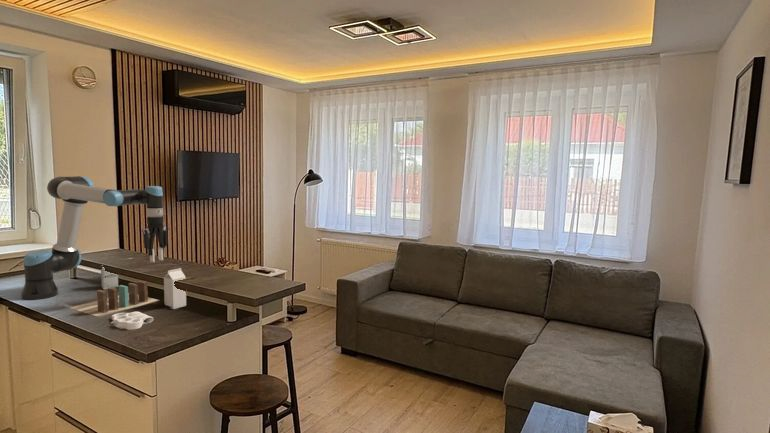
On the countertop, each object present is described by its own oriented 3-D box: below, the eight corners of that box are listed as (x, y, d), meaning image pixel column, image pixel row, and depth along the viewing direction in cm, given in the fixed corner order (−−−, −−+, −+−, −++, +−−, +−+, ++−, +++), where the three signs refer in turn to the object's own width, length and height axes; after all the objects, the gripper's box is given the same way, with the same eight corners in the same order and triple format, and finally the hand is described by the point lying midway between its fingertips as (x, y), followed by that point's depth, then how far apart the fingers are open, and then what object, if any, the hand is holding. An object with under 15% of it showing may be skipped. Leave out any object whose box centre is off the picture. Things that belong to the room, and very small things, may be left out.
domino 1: (104, 313, 204) (103, 292, 203) (97, 311, 207) (97, 290, 205) (107, 312, 206) (106, 291, 205) (101, 310, 208) (100, 289, 207)
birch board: (67, 309, 211) (67, 307, 211) (128, 294, 237) (128, 292, 237) (99, 319, 199) (99, 317, 199) (160, 302, 226) (159, 300, 225)
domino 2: (115, 310, 209) (114, 289, 208) (108, 308, 211) (107, 288, 210) (118, 309, 210) (117, 288, 209) (112, 307, 212) (111, 287, 211)
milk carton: (186, 305, 221) (185, 269, 219) (173, 309, 215) (172, 271, 213) (177, 303, 225) (176, 267, 223) (164, 307, 219) (163, 269, 217)
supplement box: (103, 290, 245) (102, 267, 244) (101, 287, 251) (100, 265, 249) (118, 288, 250) (117, 266, 248) (116, 285, 255) (115, 263, 254)
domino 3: (125, 307, 213) (124, 287, 212) (119, 305, 215) (118, 285, 214) (128, 306, 215) (127, 286, 213) (122, 304, 217) (121, 285, 216)
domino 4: (135, 304, 217) (134, 284, 216) (129, 303, 220) (128, 283, 219) (138, 303, 219) (137, 284, 218) (132, 302, 221) (131, 282, 220)
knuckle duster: (157, 324, 197) (122, 333, 185) (137, 315, 207) (103, 324, 195) (157, 316, 196) (122, 326, 184) (136, 308, 206) (102, 316, 194)
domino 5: (144, 302, 222) (144, 282, 221) (138, 300, 224) (138, 281, 223) (147, 301, 223) (147, 282, 222) (141, 299, 226) (141, 280, 225)
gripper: (143, 218, 217) (145, 264, 219) (174, 215, 232) (175, 258, 235) (134, 217, 220) (136, 262, 223) (165, 214, 235) (166, 257, 238)
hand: (156, 260), depth 229 cm, fingers open, 4 cm apart
